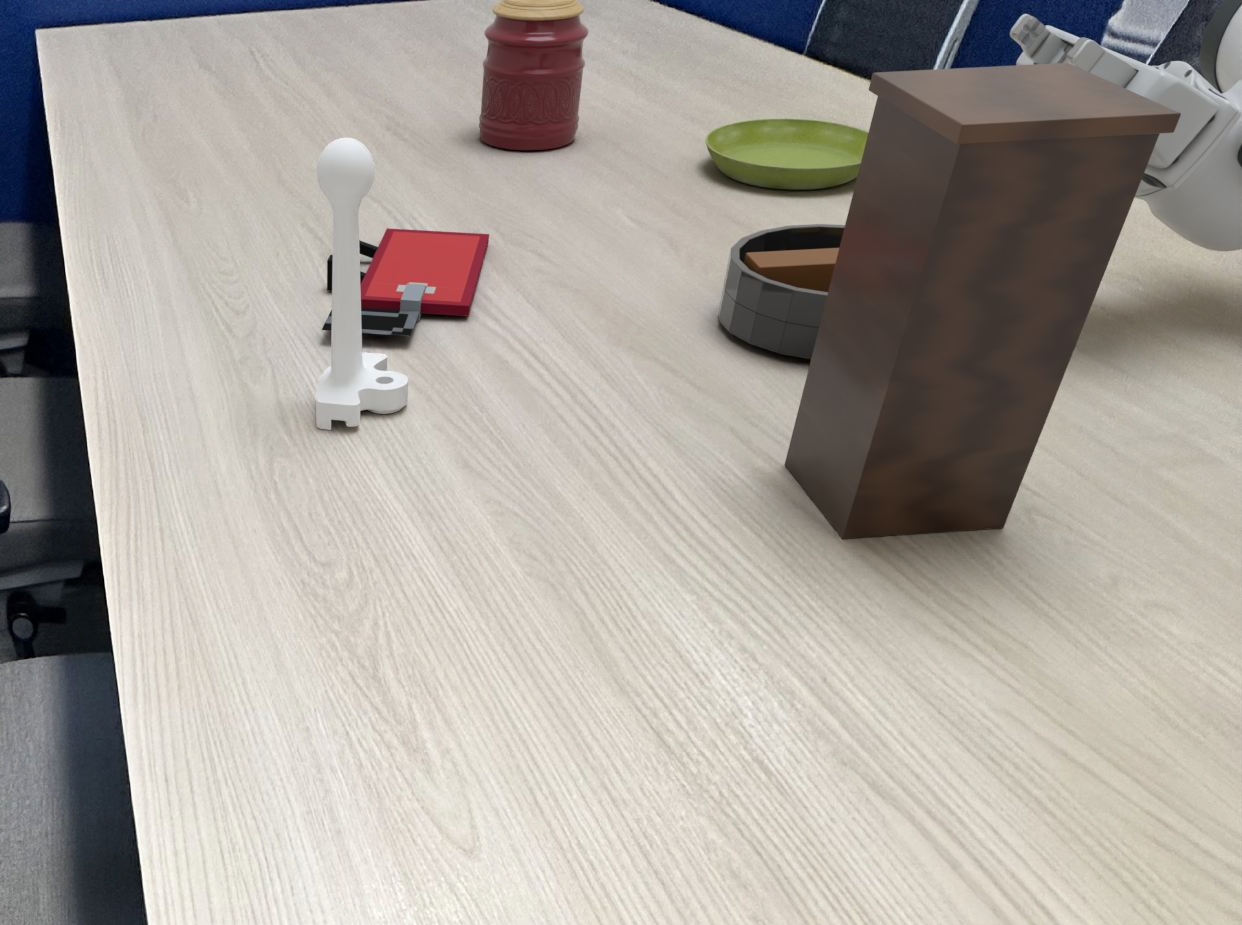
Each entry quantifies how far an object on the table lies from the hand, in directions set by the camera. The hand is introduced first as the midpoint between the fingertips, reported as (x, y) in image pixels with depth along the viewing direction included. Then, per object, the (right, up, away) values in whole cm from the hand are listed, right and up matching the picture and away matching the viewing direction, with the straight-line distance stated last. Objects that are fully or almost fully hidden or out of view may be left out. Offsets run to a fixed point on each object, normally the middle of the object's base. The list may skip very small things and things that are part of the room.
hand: (1047, 35), depth 103 cm
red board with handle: (-51, -8, +25) cm, 58 cm away
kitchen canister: (-32, +31, +63) cm, 77 cm away
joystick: (-56, -28, +6) cm, 63 cm away
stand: (-17, -40, -8) cm, 44 cm away
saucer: (-2, +19, +51) cm, 54 cm away
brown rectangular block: (-12, -14, +13) cm, 23 cm away
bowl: (-12, -16, +15) cm, 26 cm away
